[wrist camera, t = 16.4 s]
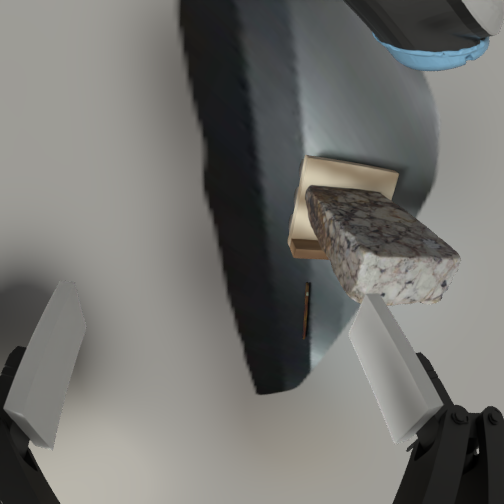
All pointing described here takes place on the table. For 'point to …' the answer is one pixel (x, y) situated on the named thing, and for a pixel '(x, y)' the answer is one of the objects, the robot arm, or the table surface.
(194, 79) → the table surface
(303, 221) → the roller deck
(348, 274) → the stone block
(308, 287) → the dark brown thin bar
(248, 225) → the table surface
